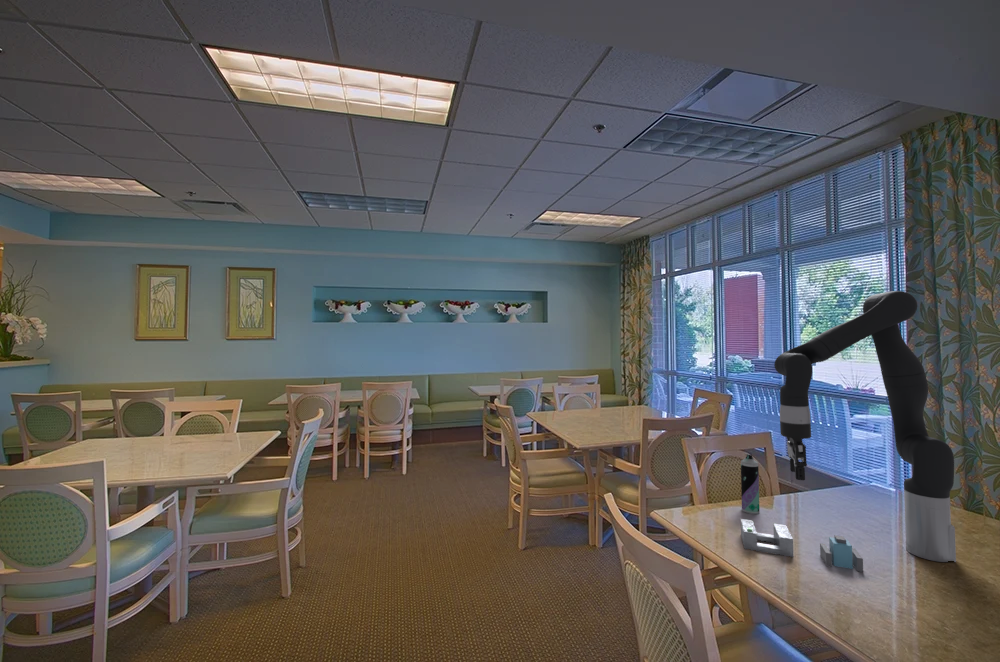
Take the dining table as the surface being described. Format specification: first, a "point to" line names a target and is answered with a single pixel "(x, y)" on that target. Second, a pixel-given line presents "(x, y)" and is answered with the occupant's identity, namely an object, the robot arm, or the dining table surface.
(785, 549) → the block
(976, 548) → the dining table surface
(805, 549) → the dining table surface
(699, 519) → the dining table surface
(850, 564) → the plug
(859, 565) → the gray parallel plates
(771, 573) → the dining table surface
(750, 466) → the spray can
